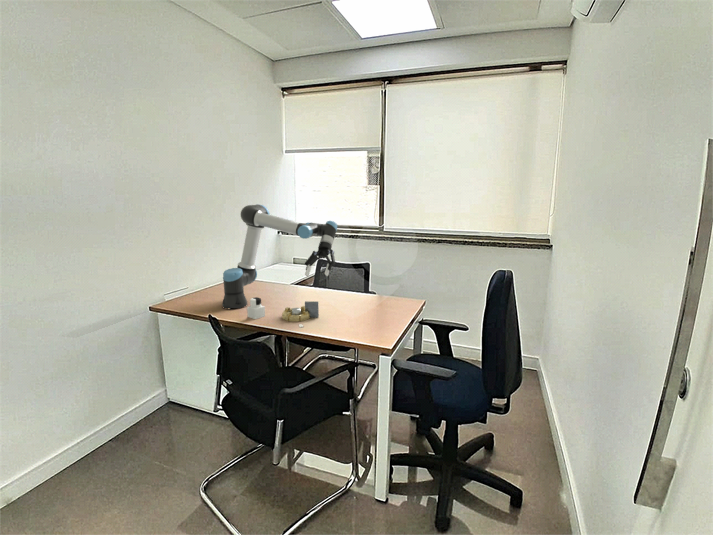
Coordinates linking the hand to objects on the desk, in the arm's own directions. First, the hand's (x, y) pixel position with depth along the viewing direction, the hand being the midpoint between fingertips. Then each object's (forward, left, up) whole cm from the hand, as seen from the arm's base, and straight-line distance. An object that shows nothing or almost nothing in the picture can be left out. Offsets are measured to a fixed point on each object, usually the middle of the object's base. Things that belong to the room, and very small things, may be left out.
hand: (316, 275), depth 213 cm
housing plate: (-10, -6, -24) cm, 27 cm away
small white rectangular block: (-3, -20, -24) cm, 32 cm away
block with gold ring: (-8, -6, -23) cm, 25 cm away
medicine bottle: (-33, -9, -25) cm, 42 cm away
